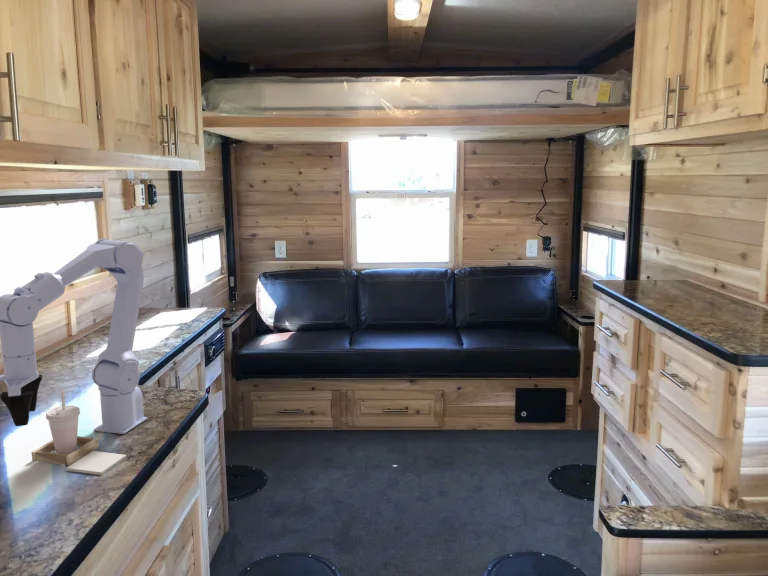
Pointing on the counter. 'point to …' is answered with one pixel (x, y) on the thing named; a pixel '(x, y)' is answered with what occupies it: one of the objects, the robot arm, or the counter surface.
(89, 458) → the coaster pad
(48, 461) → the collar
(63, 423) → the smoothie
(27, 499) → the counter surface
